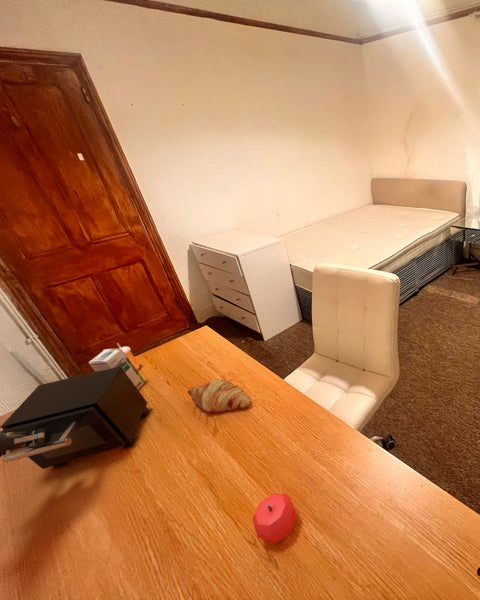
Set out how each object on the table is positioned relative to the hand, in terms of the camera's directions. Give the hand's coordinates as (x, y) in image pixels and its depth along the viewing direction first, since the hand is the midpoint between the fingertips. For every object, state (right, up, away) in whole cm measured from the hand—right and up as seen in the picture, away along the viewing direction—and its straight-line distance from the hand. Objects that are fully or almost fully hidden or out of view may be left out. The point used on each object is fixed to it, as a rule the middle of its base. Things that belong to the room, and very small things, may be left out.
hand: (46, 437), depth 68 cm
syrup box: (-8, +2, +31) cm, 32 cm away
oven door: (+1, -10, +6) cm, 11 cm away
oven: (-2, -7, +16) cm, 17 cm away
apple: (+53, -16, -5) cm, 56 cm away
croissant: (+25, 0, +24) cm, 34 cm away
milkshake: (-15, +6, +39) cm, 42 cm away
